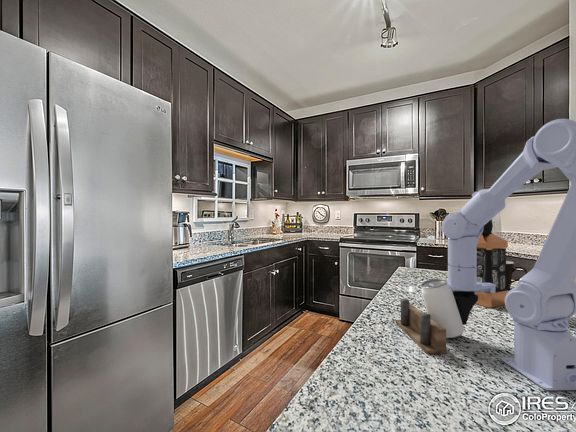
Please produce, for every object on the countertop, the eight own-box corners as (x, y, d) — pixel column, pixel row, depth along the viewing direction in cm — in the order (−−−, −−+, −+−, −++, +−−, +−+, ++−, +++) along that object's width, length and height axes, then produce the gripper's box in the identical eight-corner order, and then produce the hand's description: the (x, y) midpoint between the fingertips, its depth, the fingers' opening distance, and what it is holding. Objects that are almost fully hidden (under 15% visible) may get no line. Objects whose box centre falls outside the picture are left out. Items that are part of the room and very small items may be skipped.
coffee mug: (479, 286, 108) (479, 260, 107) (495, 284, 110) (495, 259, 110) (511, 294, 97) (511, 266, 96) (528, 292, 99) (529, 264, 99)
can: (469, 335, 62) (453, 283, 62) (438, 341, 63) (423, 290, 63) (458, 323, 68) (443, 276, 68) (430, 328, 70) (416, 282, 70)
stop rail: (446, 353, 58) (446, 319, 57) (426, 354, 57) (426, 320, 57) (410, 322, 74) (410, 296, 73) (395, 322, 73) (395, 296, 73)
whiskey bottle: (510, 304, 87) (511, 201, 87) (489, 308, 83) (490, 201, 83) (477, 295, 97) (477, 202, 96) (457, 298, 93) (457, 202, 93)
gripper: (480, 261, 70) (480, 316, 70) (422, 262, 69) (422, 317, 70) (502, 267, 62) (502, 328, 63) (438, 268, 62) (438, 329, 62)
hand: (461, 323), depth 66 cm, fingers closed
